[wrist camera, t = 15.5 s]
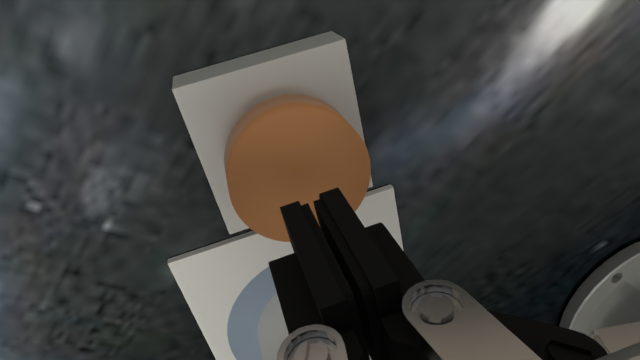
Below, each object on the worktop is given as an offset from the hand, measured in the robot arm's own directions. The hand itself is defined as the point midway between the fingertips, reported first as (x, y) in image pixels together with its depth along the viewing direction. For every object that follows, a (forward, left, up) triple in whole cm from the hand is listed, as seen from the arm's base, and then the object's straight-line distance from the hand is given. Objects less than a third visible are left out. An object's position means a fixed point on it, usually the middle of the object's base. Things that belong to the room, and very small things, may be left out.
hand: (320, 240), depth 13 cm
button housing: (0, 0, -10) cm, 10 cm away
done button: (0, 0, -6) cm, 6 cm away
